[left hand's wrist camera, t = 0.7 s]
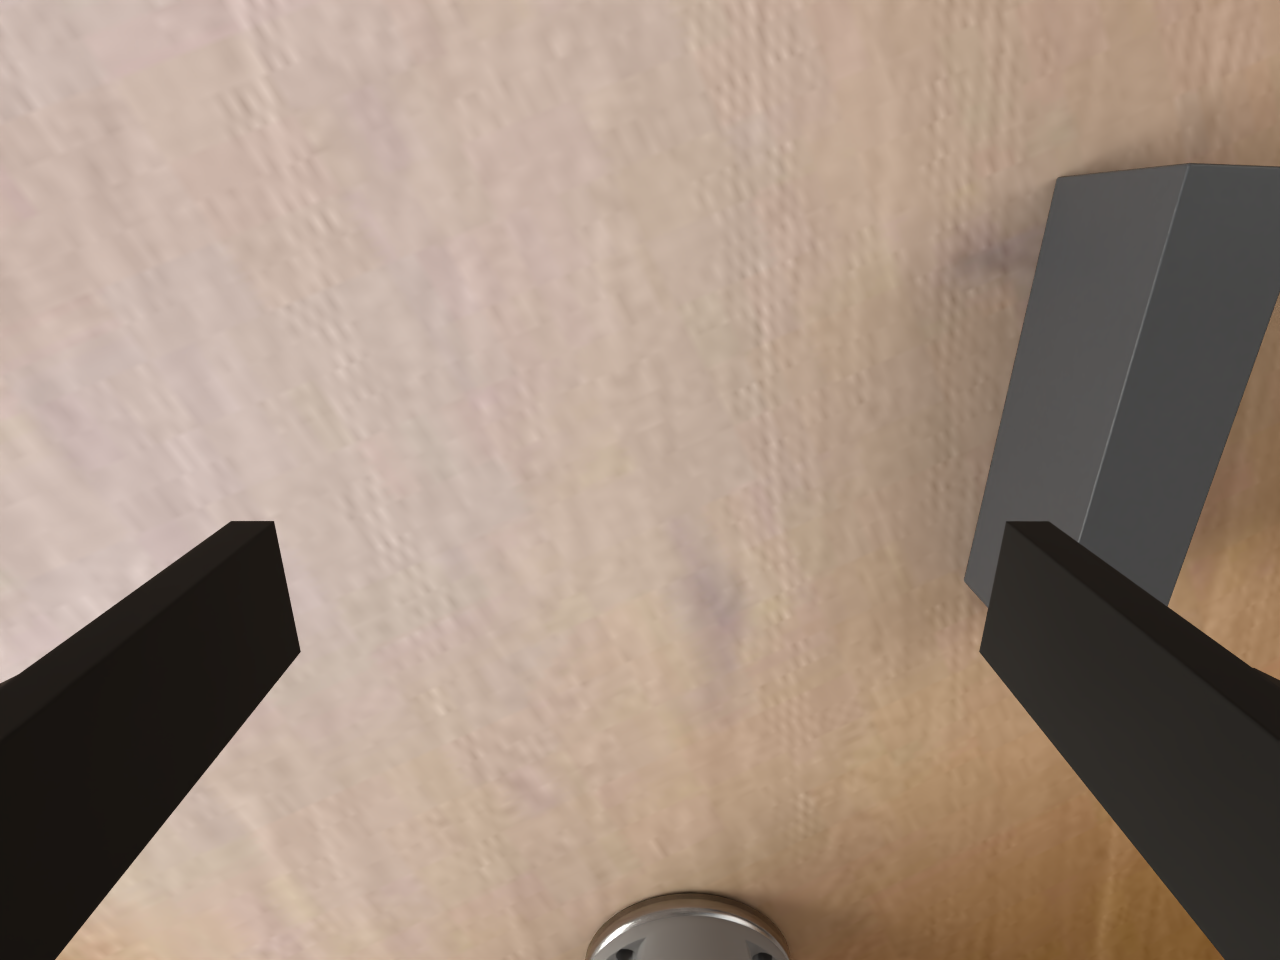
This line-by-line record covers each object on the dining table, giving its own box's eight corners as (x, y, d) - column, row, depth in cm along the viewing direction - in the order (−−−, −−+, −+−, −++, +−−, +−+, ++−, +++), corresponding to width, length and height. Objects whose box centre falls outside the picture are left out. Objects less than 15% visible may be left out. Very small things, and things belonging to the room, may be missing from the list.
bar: (1046, 583, 39) (1145, 671, 32) (963, 581, 39) (1041, 668, 32) (1159, 181, 32) (1325, 168, 24) (1056, 177, 32) (1189, 162, 24)
